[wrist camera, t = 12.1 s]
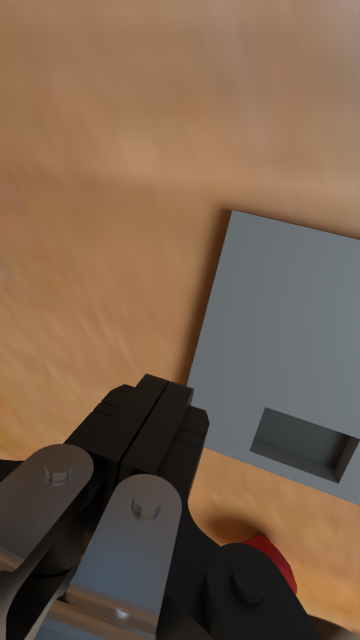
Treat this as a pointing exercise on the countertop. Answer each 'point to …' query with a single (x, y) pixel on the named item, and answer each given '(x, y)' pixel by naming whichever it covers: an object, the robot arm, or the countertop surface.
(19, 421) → the countertop surface
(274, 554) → the strawberry
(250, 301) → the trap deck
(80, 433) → the robot arm
